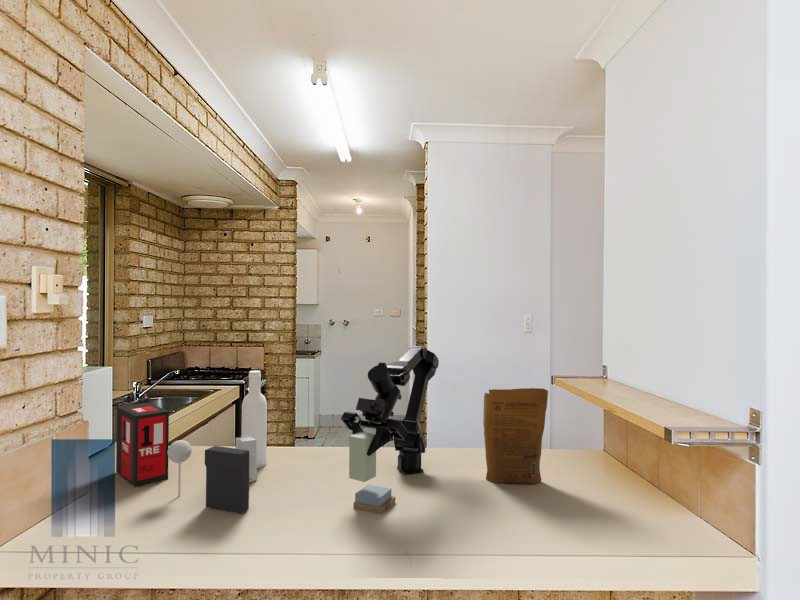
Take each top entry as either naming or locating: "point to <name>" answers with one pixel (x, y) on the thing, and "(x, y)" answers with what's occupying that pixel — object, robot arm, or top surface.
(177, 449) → the lollipop
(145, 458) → the cleaning product box
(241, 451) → the calculator
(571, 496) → the top surface
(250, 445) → the skincare box
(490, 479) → the pancake mix bag
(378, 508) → the walnut base block
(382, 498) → the slate top block
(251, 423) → the bottle
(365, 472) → the sage block
